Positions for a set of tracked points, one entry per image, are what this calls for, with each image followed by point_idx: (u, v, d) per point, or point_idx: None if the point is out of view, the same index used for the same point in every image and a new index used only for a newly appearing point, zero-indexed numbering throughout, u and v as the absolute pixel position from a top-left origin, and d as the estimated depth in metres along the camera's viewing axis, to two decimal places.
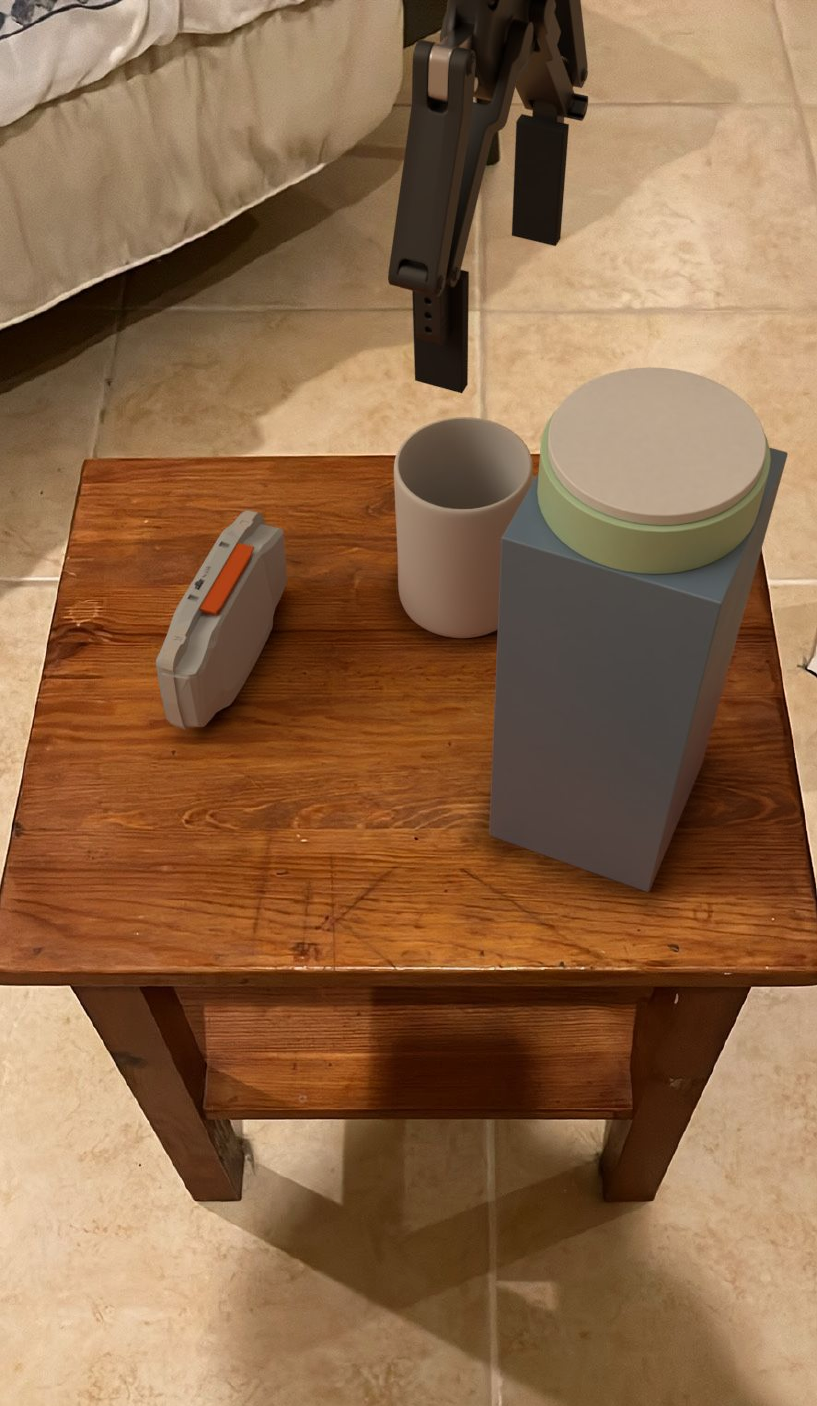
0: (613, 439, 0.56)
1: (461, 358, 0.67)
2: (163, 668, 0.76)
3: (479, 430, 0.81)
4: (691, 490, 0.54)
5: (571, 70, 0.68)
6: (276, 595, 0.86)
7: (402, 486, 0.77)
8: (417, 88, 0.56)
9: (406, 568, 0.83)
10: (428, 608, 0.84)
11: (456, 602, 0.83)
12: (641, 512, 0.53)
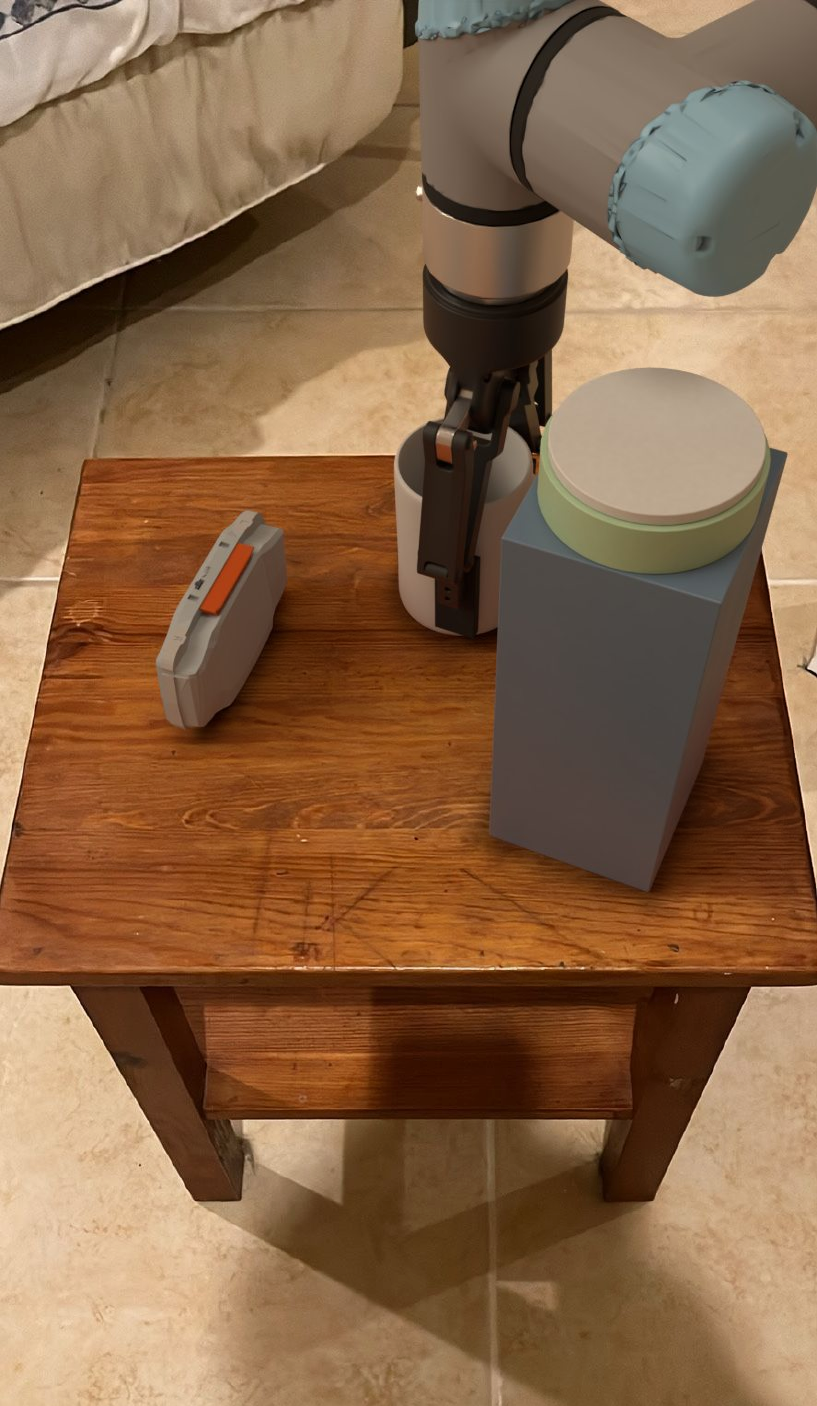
0: (613, 439, 0.56)
1: (473, 615, 0.82)
2: (163, 668, 0.76)
3: None
4: (691, 490, 0.54)
5: (539, 412, 0.82)
6: (276, 595, 0.86)
7: (402, 484, 0.78)
8: (428, 455, 0.70)
9: (406, 566, 0.83)
10: (428, 606, 0.84)
11: None
12: (641, 512, 0.53)
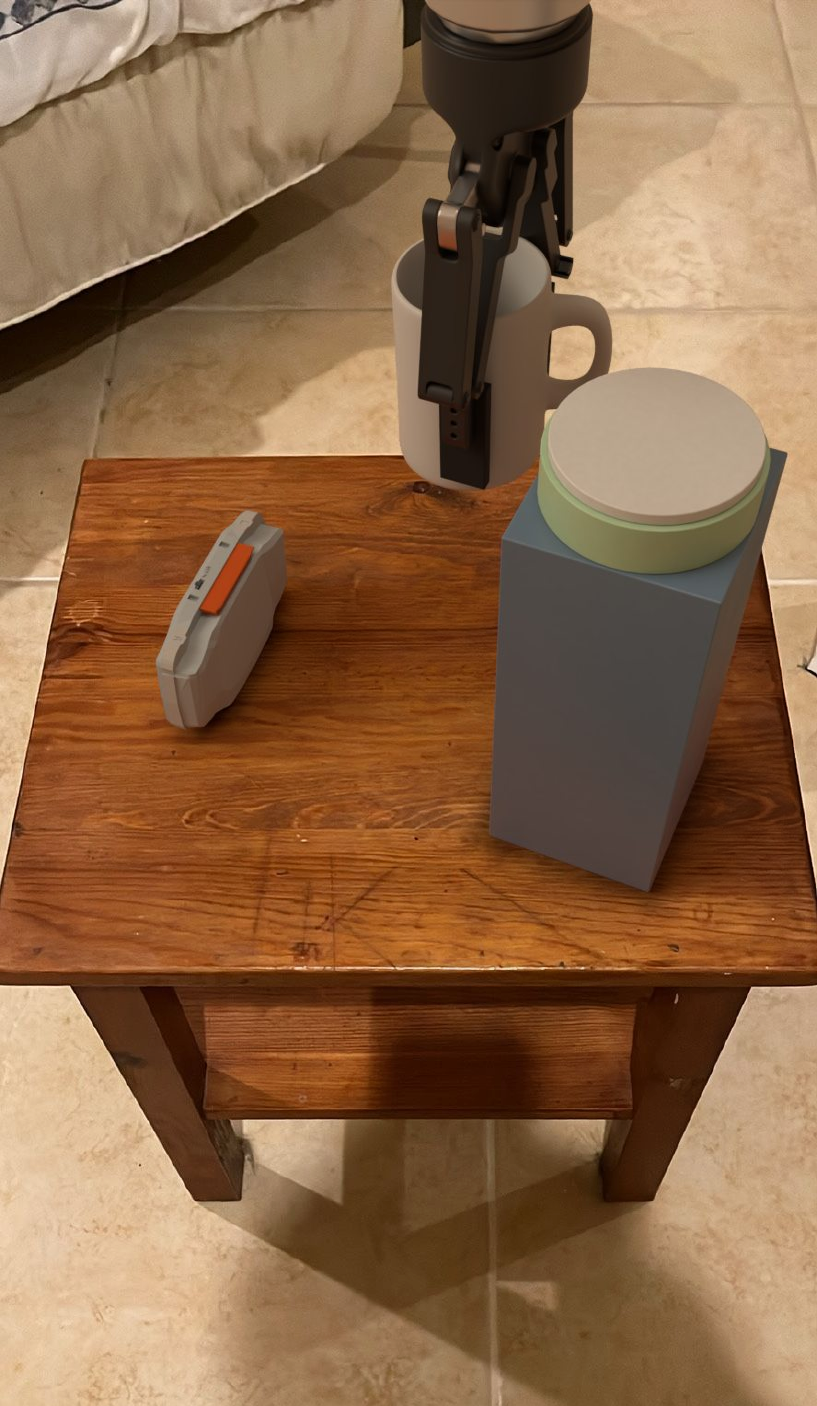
0: (613, 439, 0.56)
1: (484, 459, 0.71)
2: (163, 668, 0.76)
3: None
4: (691, 490, 0.54)
5: (558, 226, 0.71)
6: (276, 595, 0.86)
7: (400, 299, 0.67)
8: (429, 241, 0.60)
9: (407, 406, 0.73)
10: (432, 454, 0.74)
11: None
12: (641, 512, 0.53)
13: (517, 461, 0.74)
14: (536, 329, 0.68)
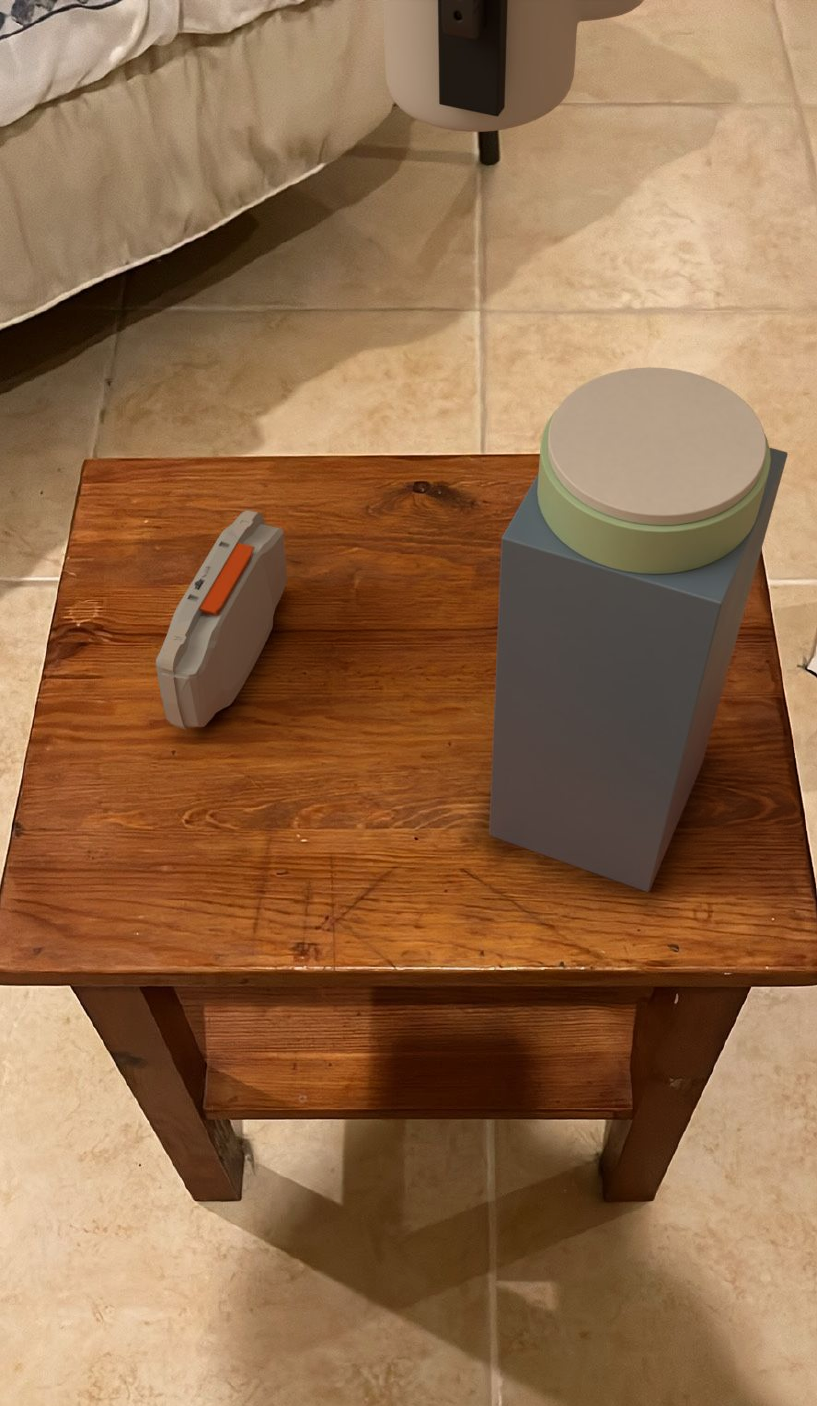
0: (613, 439, 0.56)
1: (498, 63, 0.53)
2: (163, 668, 0.76)
3: None
4: (691, 490, 0.54)
5: None
6: (276, 595, 0.86)
7: None
8: None
9: (395, 1, 0.55)
10: (429, 72, 0.56)
11: None
12: (641, 512, 0.53)
13: (541, 87, 0.56)
14: None
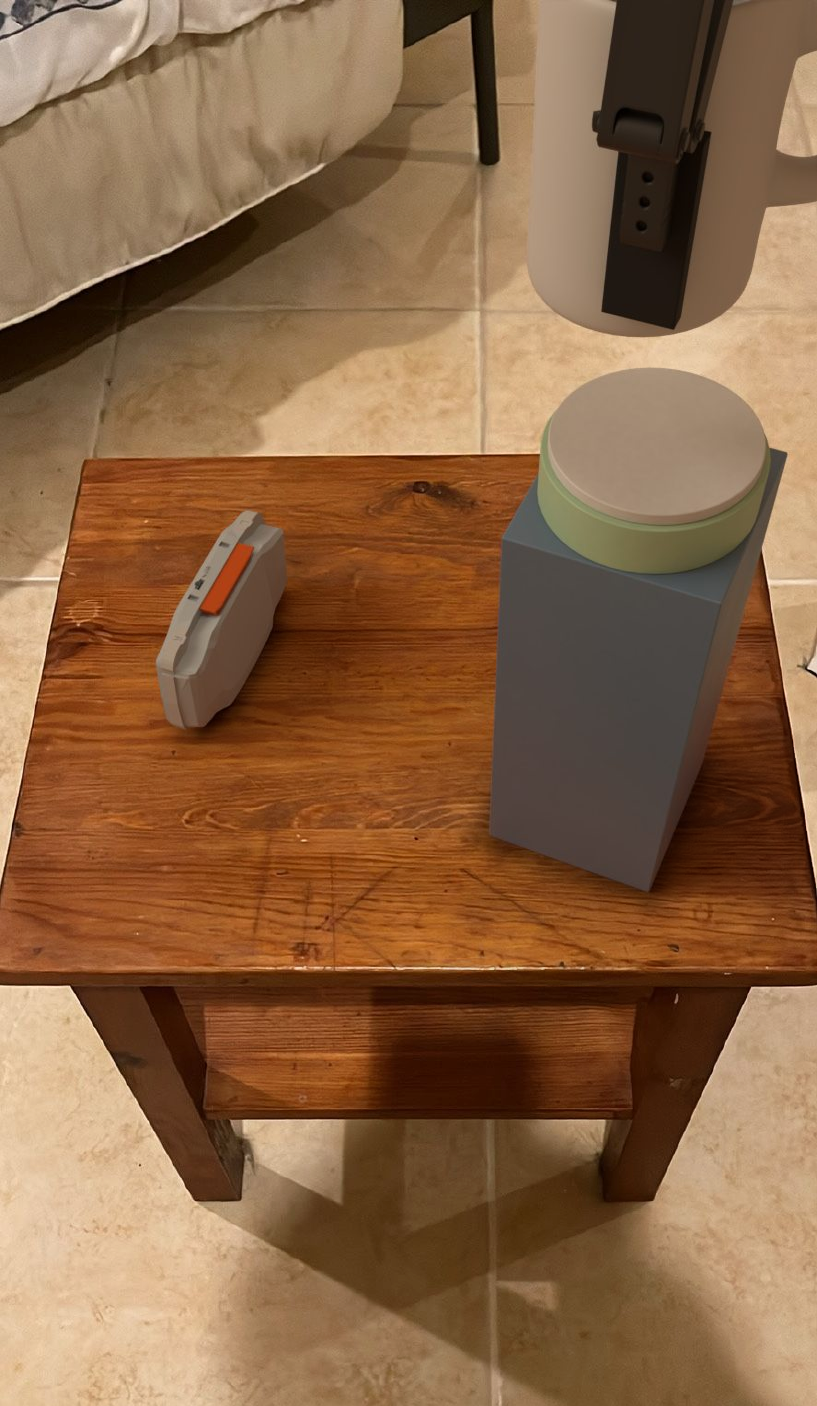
0: (613, 439, 0.56)
1: (681, 274, 0.44)
2: (163, 668, 0.76)
3: None
4: (691, 490, 0.54)
5: None
6: (276, 595, 0.86)
7: None
8: None
9: (552, 192, 0.45)
10: (589, 273, 0.46)
11: None
12: (641, 512, 0.53)
13: (721, 288, 0.47)
14: (786, 40, 0.41)
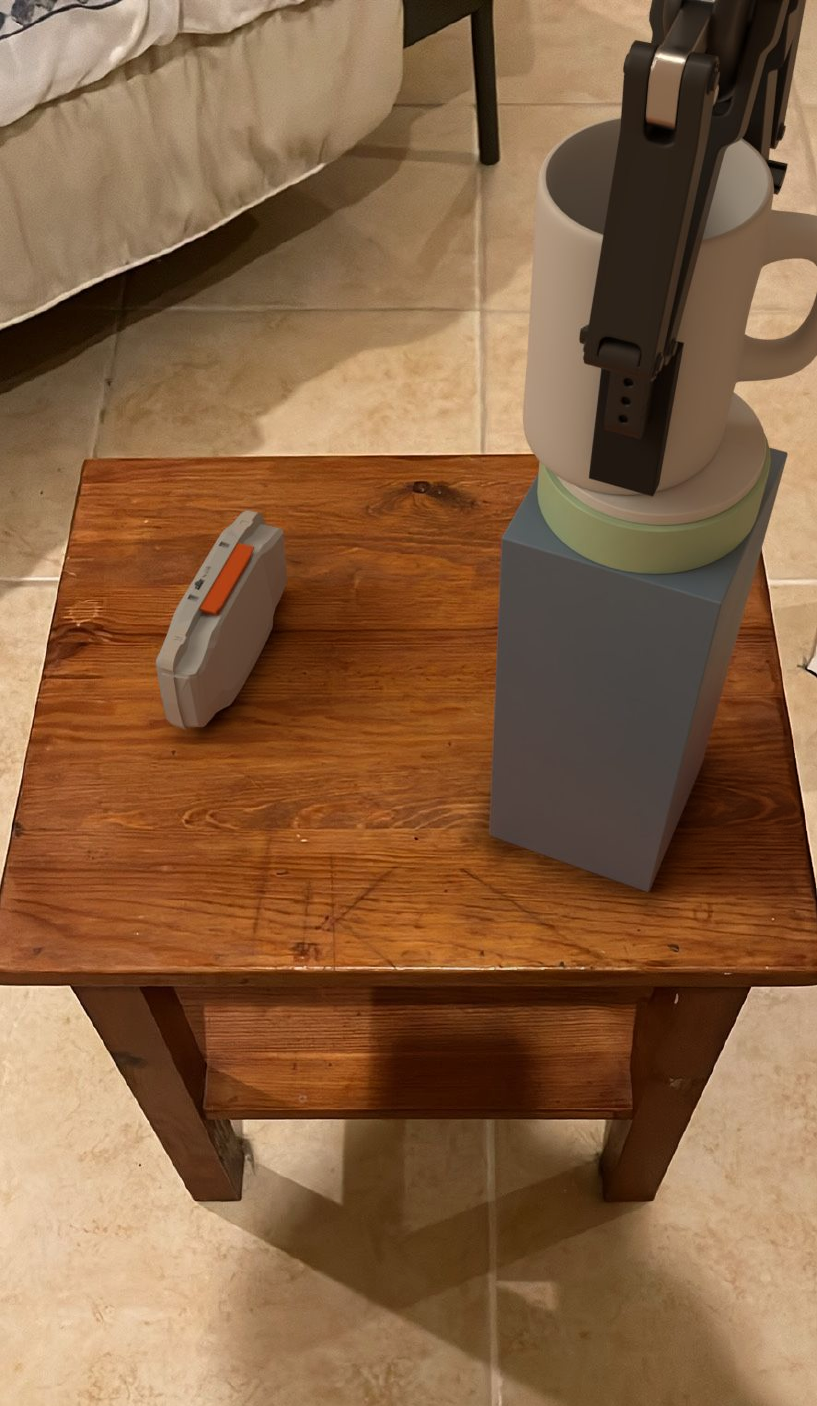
0: None
1: (659, 453, 0.50)
2: (163, 668, 0.76)
3: None
4: (691, 490, 0.54)
5: None
6: (276, 595, 0.86)
7: (555, 212, 0.46)
8: (629, 112, 0.38)
9: (546, 374, 0.51)
10: (578, 442, 0.52)
11: None
12: (641, 512, 0.53)
13: (695, 454, 0.53)
14: (750, 260, 0.47)
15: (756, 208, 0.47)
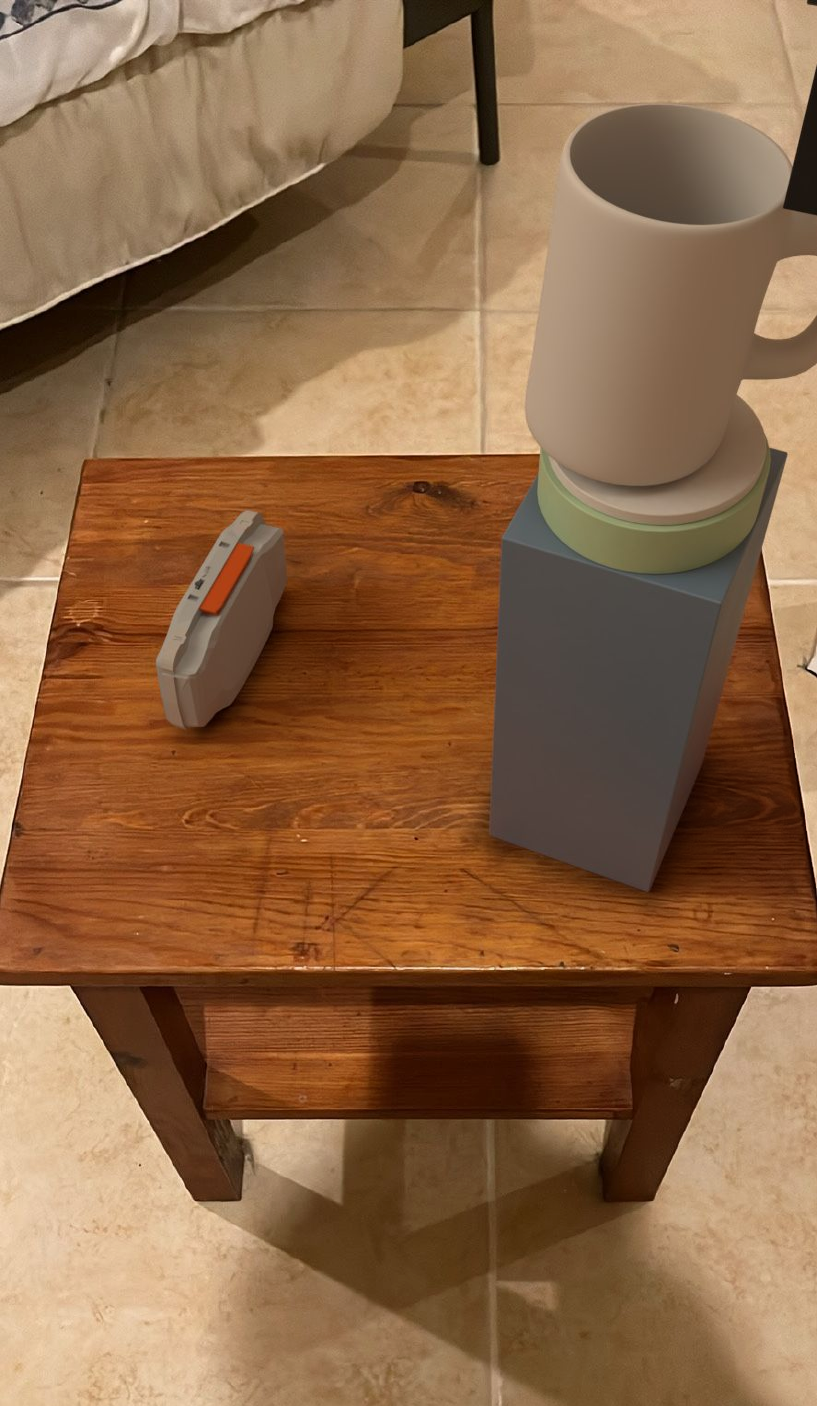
0: None
1: None
2: (163, 668, 0.76)
3: (693, 129, 0.49)
4: (691, 490, 0.54)
5: None
6: (276, 595, 0.86)
7: (580, 187, 0.45)
8: None
9: (556, 356, 0.51)
10: (584, 428, 0.52)
11: (636, 415, 0.50)
12: (641, 512, 0.53)
13: (699, 448, 0.53)
14: (770, 251, 0.47)
15: (775, 201, 0.48)
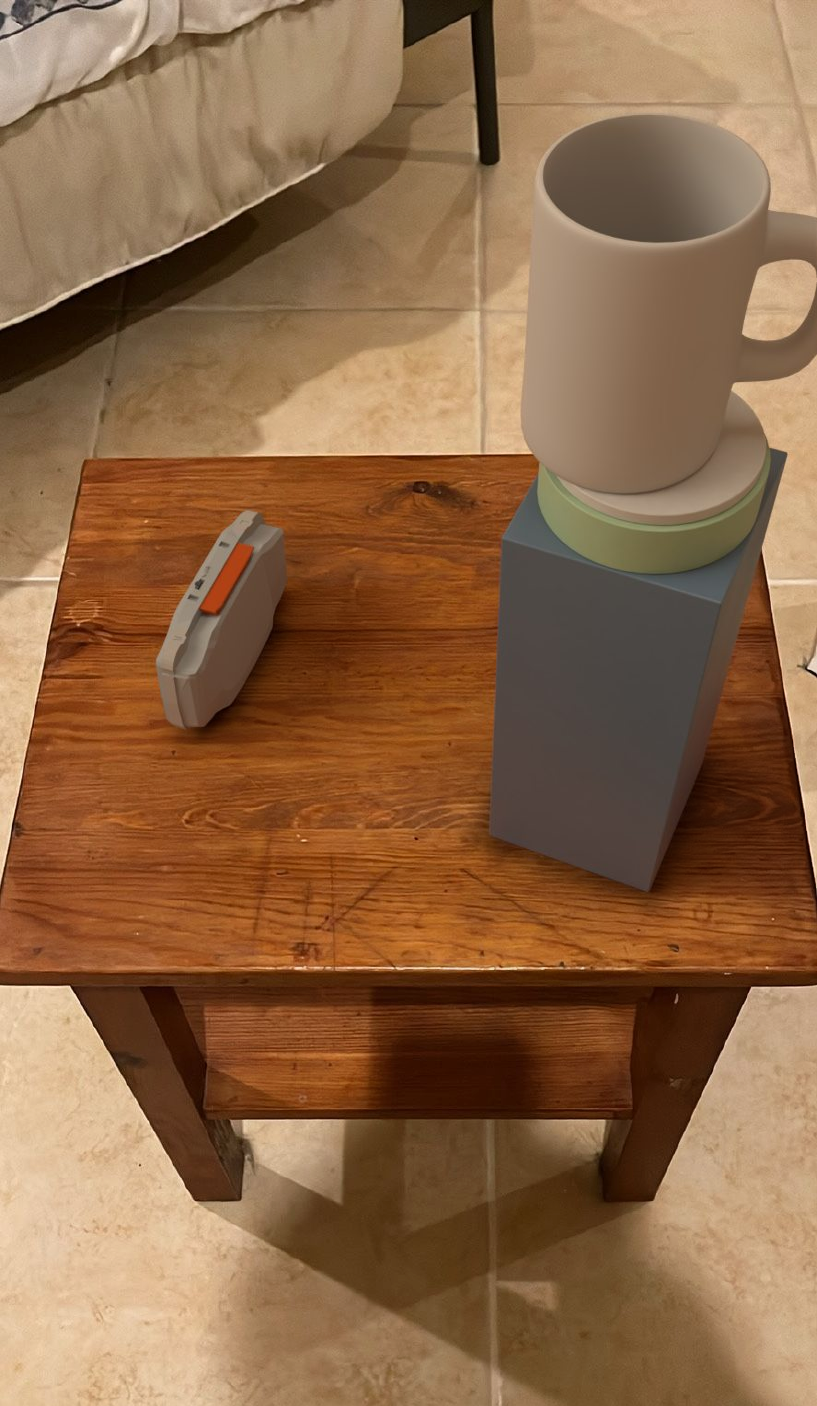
0: None
1: None
2: (163, 668, 0.76)
3: (673, 137, 0.49)
4: (691, 490, 0.54)
5: None
6: (276, 595, 0.86)
7: (550, 209, 0.46)
8: None
9: (542, 371, 0.51)
10: (574, 440, 0.52)
11: (622, 427, 0.51)
12: (641, 512, 0.53)
13: (691, 454, 0.53)
14: (746, 261, 0.47)
15: (753, 208, 0.47)
